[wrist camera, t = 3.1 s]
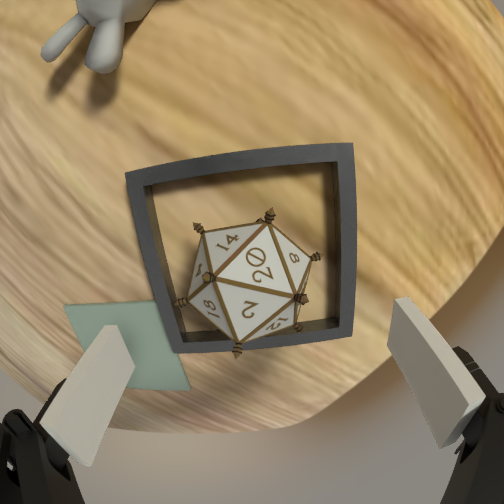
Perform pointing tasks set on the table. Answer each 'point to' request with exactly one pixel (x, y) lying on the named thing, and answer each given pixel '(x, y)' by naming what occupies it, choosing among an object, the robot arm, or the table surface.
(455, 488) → the robot arm
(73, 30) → the grey teddy bear
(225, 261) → the game die
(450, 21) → the table surface
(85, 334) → the pad
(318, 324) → the socket frame
